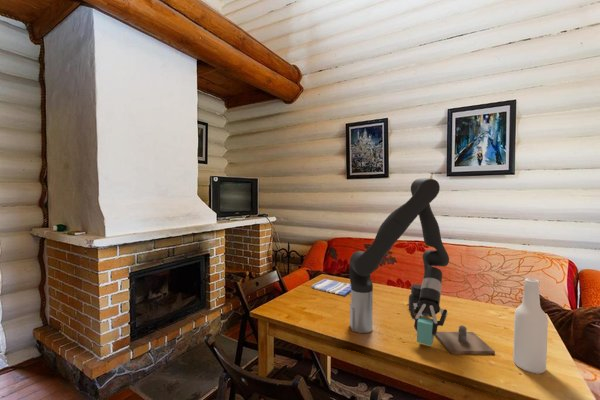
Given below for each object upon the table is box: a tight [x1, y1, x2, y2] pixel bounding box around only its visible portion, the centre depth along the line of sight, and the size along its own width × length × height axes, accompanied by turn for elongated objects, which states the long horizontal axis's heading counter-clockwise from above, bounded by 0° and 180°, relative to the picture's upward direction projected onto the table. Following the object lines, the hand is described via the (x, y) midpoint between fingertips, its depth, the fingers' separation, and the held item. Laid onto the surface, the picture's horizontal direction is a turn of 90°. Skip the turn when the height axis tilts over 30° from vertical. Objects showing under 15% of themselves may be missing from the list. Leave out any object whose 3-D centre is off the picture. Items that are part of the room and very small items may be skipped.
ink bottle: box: [408, 283, 422, 314], centre depth 143 cm, size 10×9×12 cm
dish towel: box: [311, 278, 351, 297], centre depth 174 cm, size 17×24×3 cm
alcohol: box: [512, 277, 549, 375], centre depth 97 cm, size 9×9×30 cm
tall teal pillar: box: [416, 316, 435, 347], centre depth 110 cm, size 5×5×8 cm
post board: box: [434, 325, 496, 355], centre depth 112 cm, size 16×14×7 cm
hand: (424, 332), depth 109 cm, fingers closed on tall teal pillar, 5 cm apart
